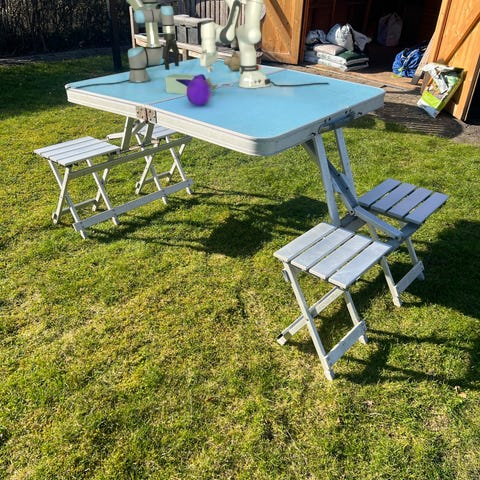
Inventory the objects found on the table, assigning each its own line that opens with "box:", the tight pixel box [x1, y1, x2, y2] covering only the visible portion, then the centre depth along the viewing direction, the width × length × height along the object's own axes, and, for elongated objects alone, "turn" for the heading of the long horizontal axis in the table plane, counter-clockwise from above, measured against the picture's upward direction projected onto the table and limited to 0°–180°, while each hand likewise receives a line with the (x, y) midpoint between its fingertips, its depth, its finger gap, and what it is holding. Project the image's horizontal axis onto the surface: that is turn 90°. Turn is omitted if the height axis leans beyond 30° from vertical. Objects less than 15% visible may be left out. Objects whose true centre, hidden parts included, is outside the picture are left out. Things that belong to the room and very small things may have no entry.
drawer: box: [205, 77, 218, 89], centre depth 298 cm, size 25×10×8 cm, turn 70°
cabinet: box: [164, 73, 198, 95], centre depth 302 cm, size 20×12×10 cm, turn 70°
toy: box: [176, 73, 212, 107], centre depth 271 cm, size 16×18×27 cm
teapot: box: [223, 50, 240, 72], centre depth 366 cm, size 21×12×15 cm, turn 120°
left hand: (172, 68), depth 299 cm, fingers open, 13 cm apart
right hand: (209, 72), depth 291 cm, fingers closed
